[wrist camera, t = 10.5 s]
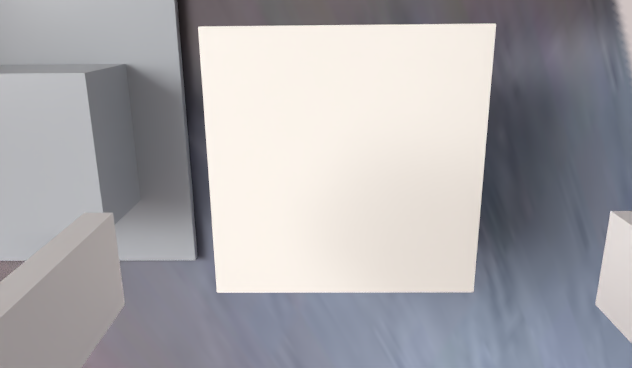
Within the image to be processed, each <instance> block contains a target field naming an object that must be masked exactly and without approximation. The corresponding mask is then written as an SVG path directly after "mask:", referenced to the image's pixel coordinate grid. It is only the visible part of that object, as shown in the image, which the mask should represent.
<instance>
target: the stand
mask: <svg viewBox="0 0 632 368" xmlns="http://www.w3.org/2000/svg"><path fill="white" fill-rule="evenodd" d="M84 213H113V216H114V224H115V232H116V239H117V247H118V255H119V260H196V258H197V256H198V255H197V242H196V230H195V217H194V205H193V192H192V180H191V167H190V155H189V142H188V130H187V117H186V105H185V92H184V80H183V67H182V55H181V42H180V30H179V17H178V5H177V0H0V261H26V260H28V259H29V258H30V257H31V256H32V255H34V254H35V253H36V252H37V251H39V250H40V249H41V248H42V247H43V246H45V245H46V244H47V243H48V242H50V241H51V240H52V239H53V238H54V237H56V236H57V235H58V234H59V233H60V232H62V231H63V230H64V229H65V228H67V227H68V226H69V225H70V224H71V223H73V222H74V221H75V220H76V219H77V218H79V217H80V216H81V215H82V214H84Z"/></svg>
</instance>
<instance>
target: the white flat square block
mask: <svg viewBox="0 0 632 368" xmlns="http://www.w3.org/2000/svg"><path fill="white" fill-rule="evenodd" d="M495 31H496V24H487V23H482V24H383V25H284V26H202V27H198V32H199V46H200V61H201V75H202V89H203V103H204V117H205V131H206V145H207V159H208V173H209V188H210V202H211V216H212V230H213V244H214V258H215V272H216V286H217V293H299V292H474V280H475V268H476V256H477V244H478V232H479V221H480V209H481V197H482V185H483V173H484V161H485V149H486V138H487V126H488V114H489V102H490V90H491V78H492V66H493V54H494V43H495Z"/></svg>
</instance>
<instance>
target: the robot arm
mask: <svg viewBox="0 0 632 368" xmlns="http://www.w3.org/2000/svg"><path fill="white" fill-rule="evenodd" d="M124 305H125V301H124V293H123V285H122V278H121V270H120V262H119V255H118V247H117V239H116V232H115V224H114V216H113V213H84V214H82V215H81V216H80V217H79V218H77V219H76V220H75V221H74V222H73V223H71V224H70V225H69V226H68V227H67V228H65V229H64V230H63V231H62V232H60V233H59V234H58V235H57V236H56V237H54V238H53V239H52V240H51V241H50V242H48V243H47V244H46V245H45V246H43V247H42V248H41V249H40V250H39V251H37V252H36V253H35V254H34V255H32V256H31V257H30V258H29V259H28V260H26V261H25V262H24V263H23V264H22V265H20V266H19V267H18V268H17V269H15V270H14V271H13V272H12V273H11V274H9V275H8V276H7V277H6V278H5V279H3V280H2V281H1V282H0V368H82V366H83V365H84V363H85V362H86V360H87V359H88V357H89V356H90V354H91V353H92V352H93V350H94V349H95V347H96V346H97V344H98V343H99V341H100V340H101V339H102V337H103V336H104V334H105V333H106V331H107V330H108V328H109V327H110V326H111V324H112V323H113V321H114V320H115V318H116V317H117V315H118V314H119V312H120V311H121V310H122V308H123V307H124ZM595 305H596V306H597V307H598V308H599V309H600V310H601V311H602V312H603V313H604V314H605V315H606V316H607V317H608V319H609V320H610V321H611V322H612V323H613V324H614V325H615V326H616V327H617V328H618V329H619V330H620V331H621V332H622V333H623V335H624V336H625V337H626V338H627V339H628V340H629V341H630V342H631V343H632V211H611V212H610V218H609V224H608V230H607V236H606V243H605V249H604V255H603V261H602V267H601V273H600V279H599V285H598V291H597V297H596V303H595Z"/></svg>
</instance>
